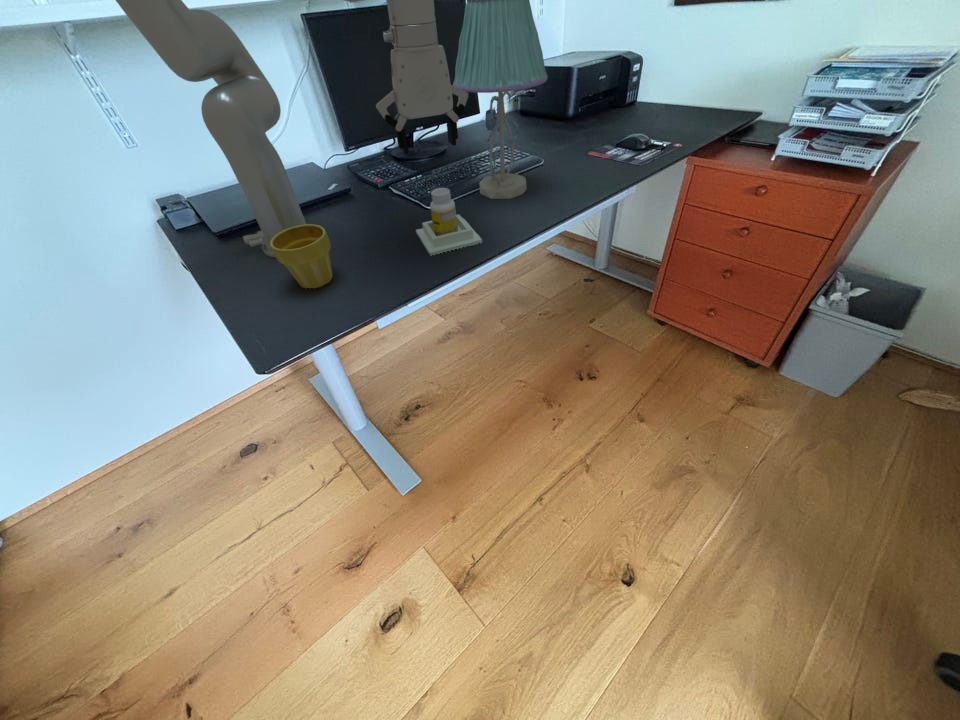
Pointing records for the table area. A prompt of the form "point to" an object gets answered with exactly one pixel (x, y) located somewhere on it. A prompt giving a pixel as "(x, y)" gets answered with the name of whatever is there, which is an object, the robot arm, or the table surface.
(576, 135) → the table surface
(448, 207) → the supplement bottle
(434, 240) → the socket holder
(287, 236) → the plant pot
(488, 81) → the table lamp
